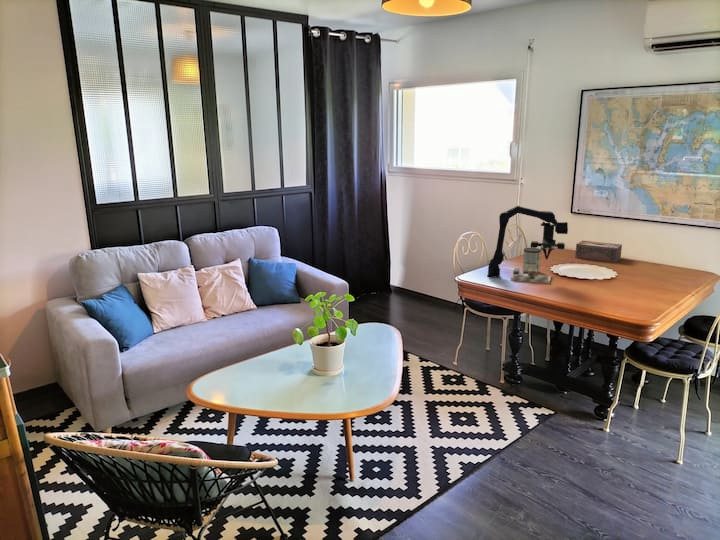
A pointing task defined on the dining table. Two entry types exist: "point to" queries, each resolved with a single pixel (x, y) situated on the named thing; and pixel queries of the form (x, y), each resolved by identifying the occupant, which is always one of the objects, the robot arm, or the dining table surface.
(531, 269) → the gauge carriage
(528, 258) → the coffee can
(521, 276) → the base
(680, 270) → the dining table surface
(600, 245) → the tissue box cover
